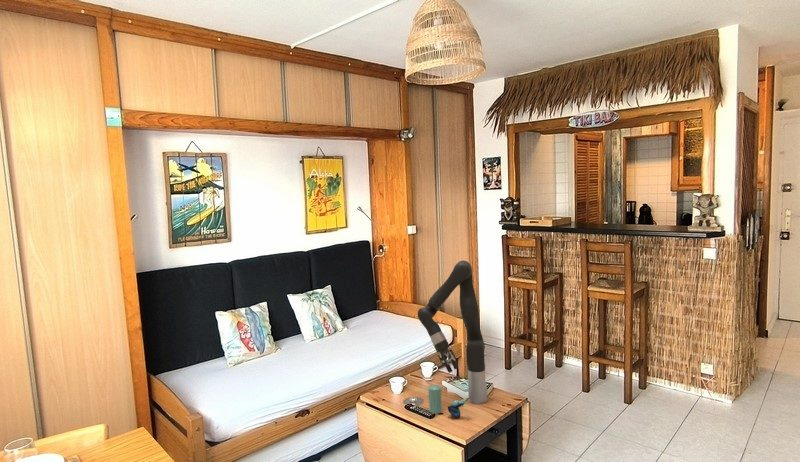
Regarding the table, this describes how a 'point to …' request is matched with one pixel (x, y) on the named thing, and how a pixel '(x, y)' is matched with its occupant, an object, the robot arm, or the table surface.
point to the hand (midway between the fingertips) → (453, 370)
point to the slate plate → (419, 402)
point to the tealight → (413, 399)
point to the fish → (456, 407)
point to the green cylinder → (435, 399)
